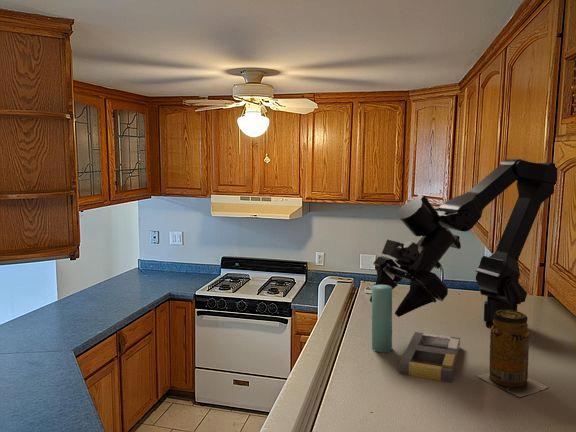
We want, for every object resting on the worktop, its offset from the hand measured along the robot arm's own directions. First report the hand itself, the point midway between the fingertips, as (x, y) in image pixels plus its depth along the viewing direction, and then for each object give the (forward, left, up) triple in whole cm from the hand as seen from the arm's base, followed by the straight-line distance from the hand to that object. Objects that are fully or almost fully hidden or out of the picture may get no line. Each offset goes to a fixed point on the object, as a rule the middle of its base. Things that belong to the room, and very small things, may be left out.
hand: (383, 308), depth 93 cm
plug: (0, 0, -9) cm, 9 cm away
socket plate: (-10, +2, -9) cm, 13 cm away
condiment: (-24, +6, -9) cm, 26 cm away
